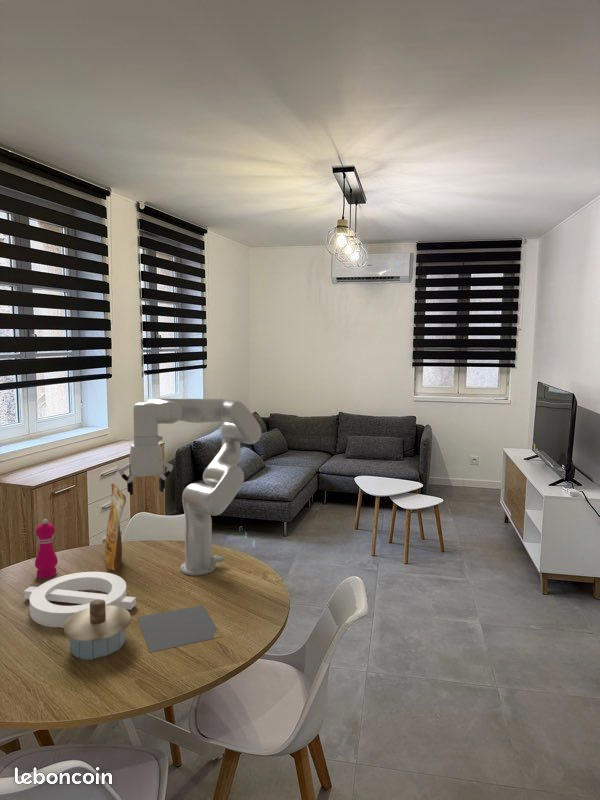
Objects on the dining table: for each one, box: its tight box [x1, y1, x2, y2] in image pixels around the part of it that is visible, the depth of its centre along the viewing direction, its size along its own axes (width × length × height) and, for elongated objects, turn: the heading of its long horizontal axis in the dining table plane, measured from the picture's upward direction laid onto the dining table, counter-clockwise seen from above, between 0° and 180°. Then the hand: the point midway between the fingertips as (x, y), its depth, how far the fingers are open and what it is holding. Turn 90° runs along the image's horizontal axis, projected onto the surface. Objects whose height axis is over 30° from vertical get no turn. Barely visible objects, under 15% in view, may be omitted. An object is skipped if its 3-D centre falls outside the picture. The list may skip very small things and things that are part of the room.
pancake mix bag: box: [103, 483, 127, 572], centre depth 203 cm, size 7×19×28 cm, turn 24°
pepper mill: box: [34, 518, 58, 579], centre depth 192 cm, size 7×7×20 cm
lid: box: [63, 599, 132, 641], centre depth 150 cm, size 17×17×6 cm
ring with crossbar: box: [23, 571, 137, 629], centre depth 173 cm, size 28×28×5 cm
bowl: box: [69, 629, 126, 661], centre depth 150 cm, size 14×14×6 cm
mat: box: [137, 604, 219, 653], centre depth 160 cm, size 20×20×1 cm
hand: (146, 492), depth 180 cm, fingers open, 9 cm apart
